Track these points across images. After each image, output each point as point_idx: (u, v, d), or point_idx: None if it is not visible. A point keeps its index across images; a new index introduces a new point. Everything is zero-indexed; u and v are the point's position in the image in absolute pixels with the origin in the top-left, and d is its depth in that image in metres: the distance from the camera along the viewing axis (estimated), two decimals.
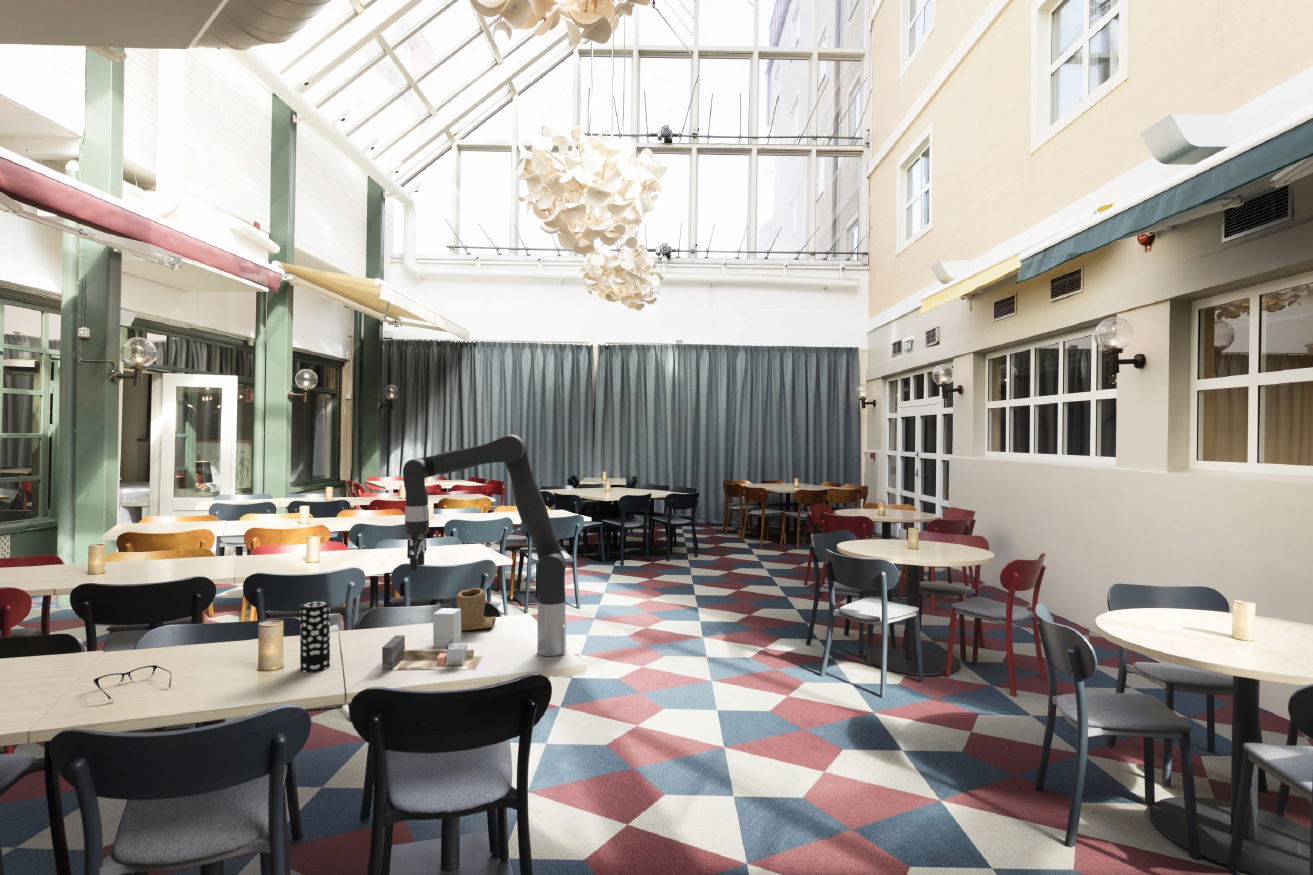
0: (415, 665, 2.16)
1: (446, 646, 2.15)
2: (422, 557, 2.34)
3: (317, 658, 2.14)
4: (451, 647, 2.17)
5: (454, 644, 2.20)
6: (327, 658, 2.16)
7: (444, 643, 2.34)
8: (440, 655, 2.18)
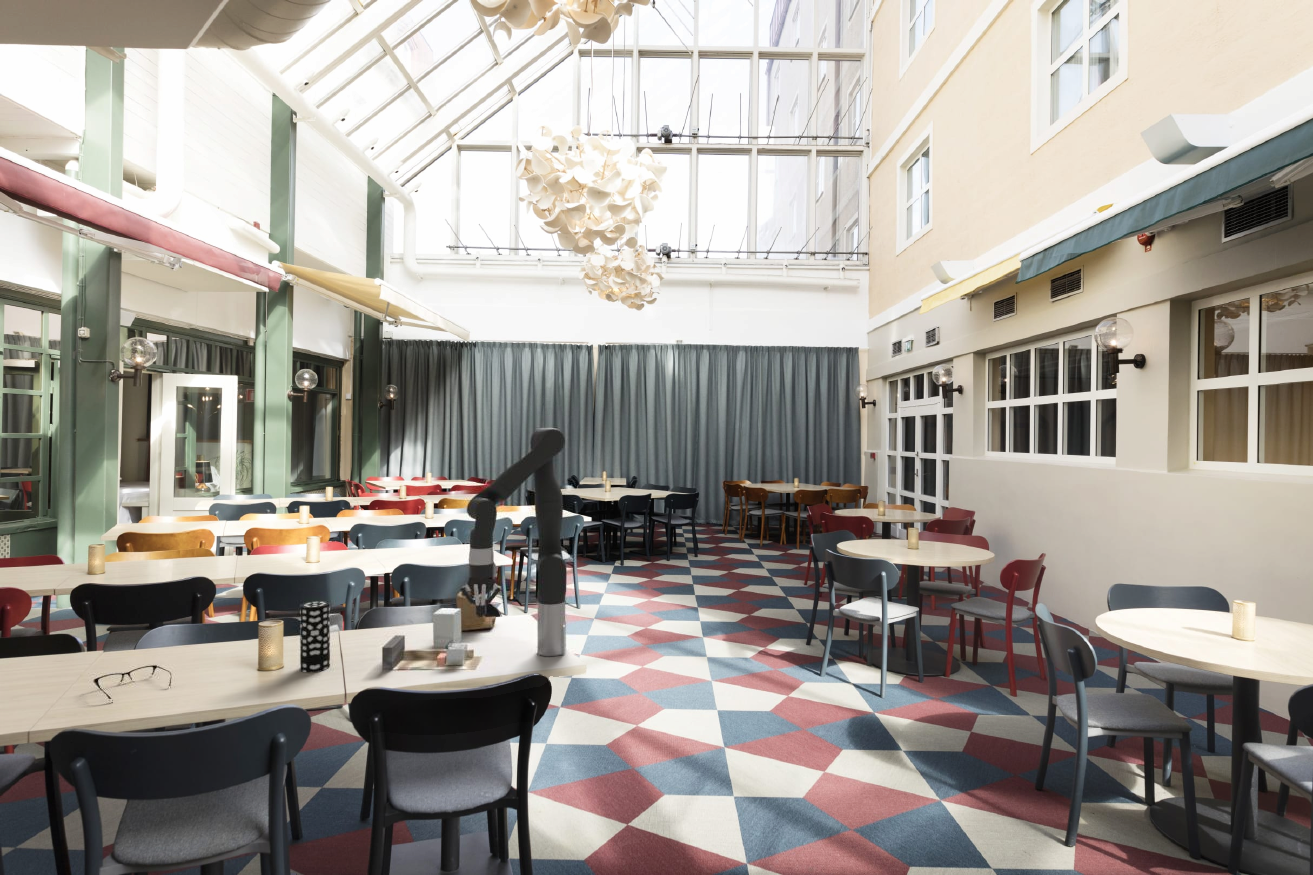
0: (415, 665, 2.16)
1: (446, 646, 2.15)
2: None
3: (317, 658, 2.14)
4: (451, 647, 2.17)
5: (454, 644, 2.20)
6: (327, 658, 2.16)
7: (444, 643, 2.34)
8: (440, 655, 2.18)
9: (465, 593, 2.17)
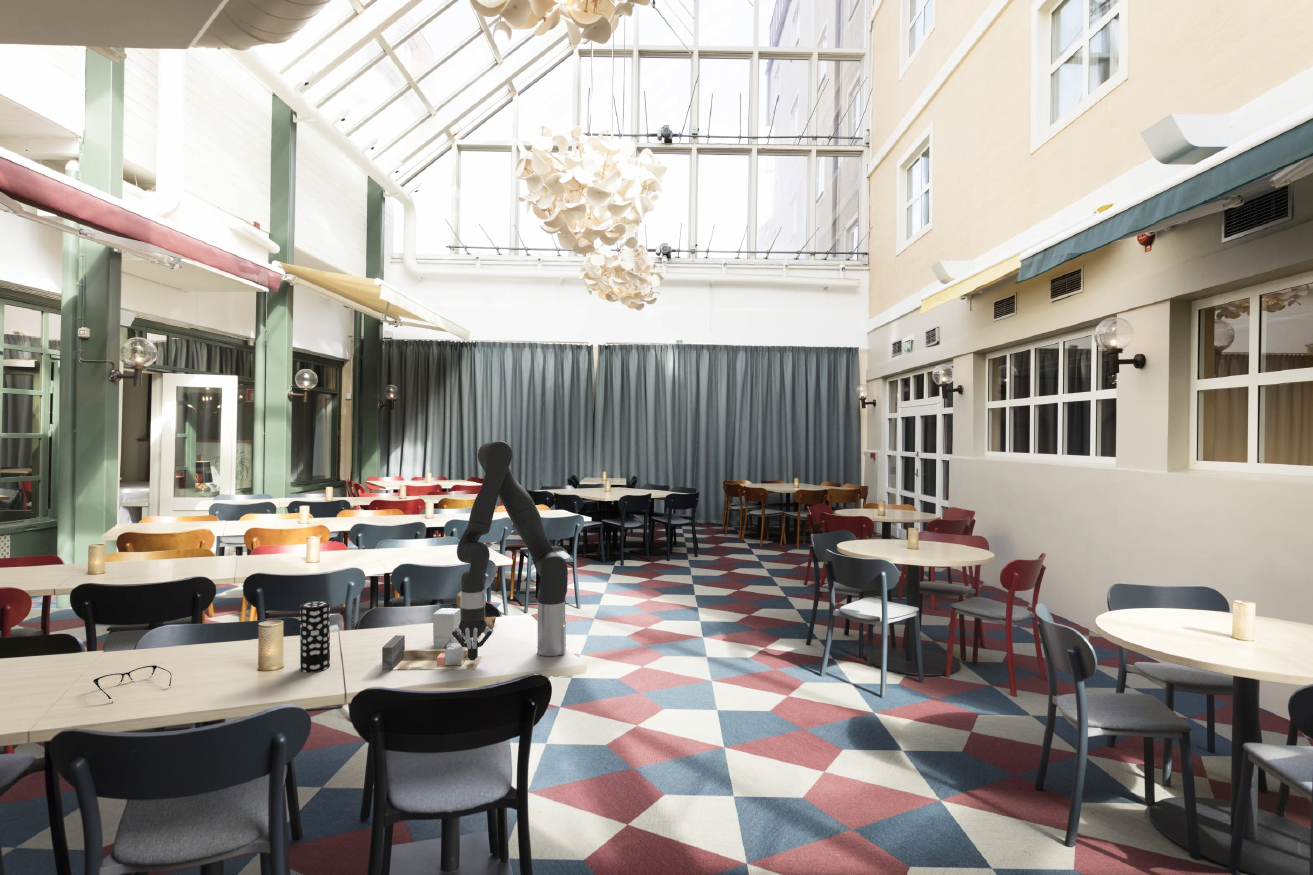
0: (415, 665, 2.16)
1: (445, 646, 2.15)
2: None
3: (317, 658, 2.14)
4: (450, 647, 2.17)
5: (453, 644, 2.20)
6: (327, 658, 2.16)
7: (444, 643, 2.34)
8: (440, 655, 2.18)
9: (457, 637, 2.16)
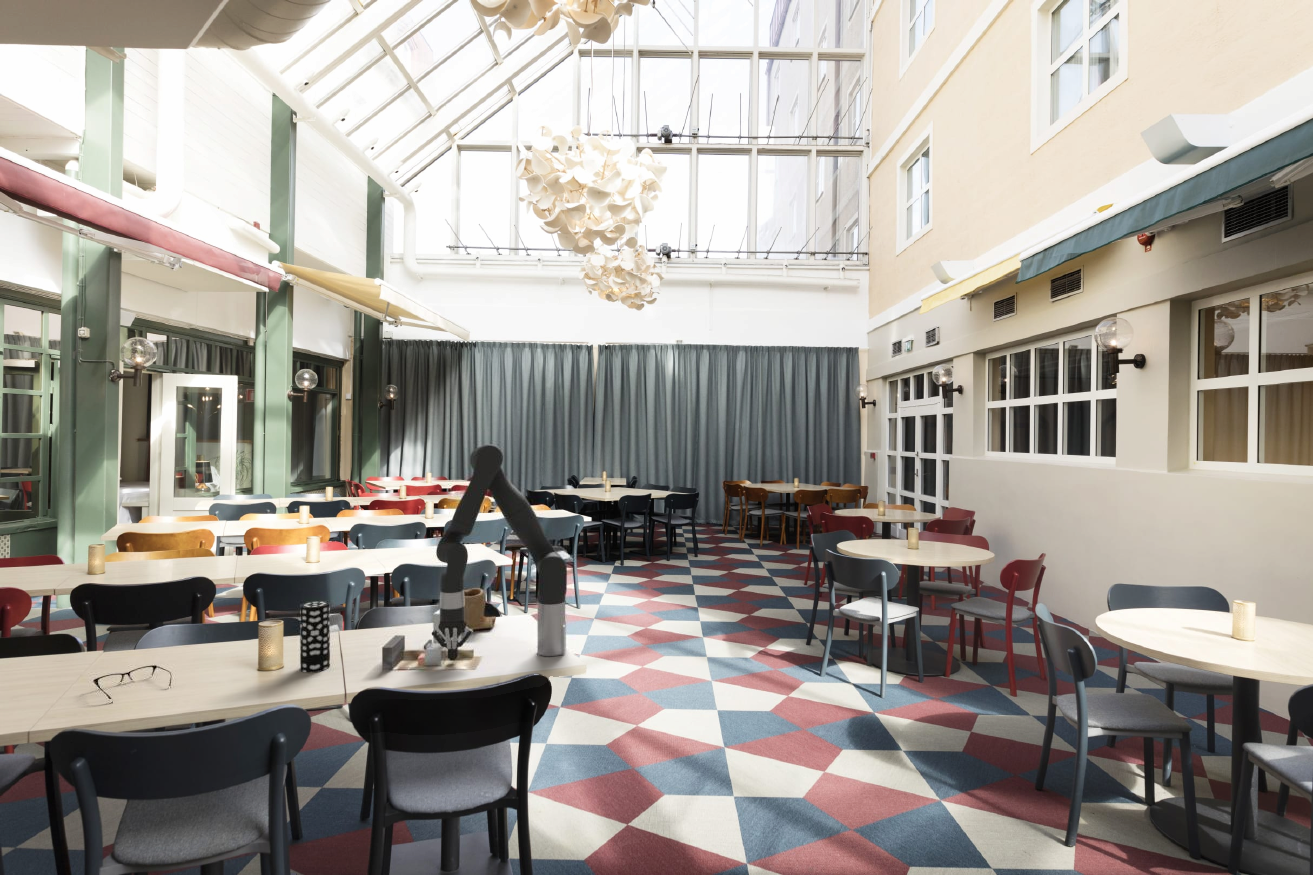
0: (415, 665, 2.16)
1: (424, 646, 2.15)
2: None
3: (317, 658, 2.14)
4: (430, 647, 2.16)
5: (433, 644, 2.19)
6: (327, 658, 2.16)
7: None
8: (421, 655, 2.18)
9: (436, 637, 2.16)
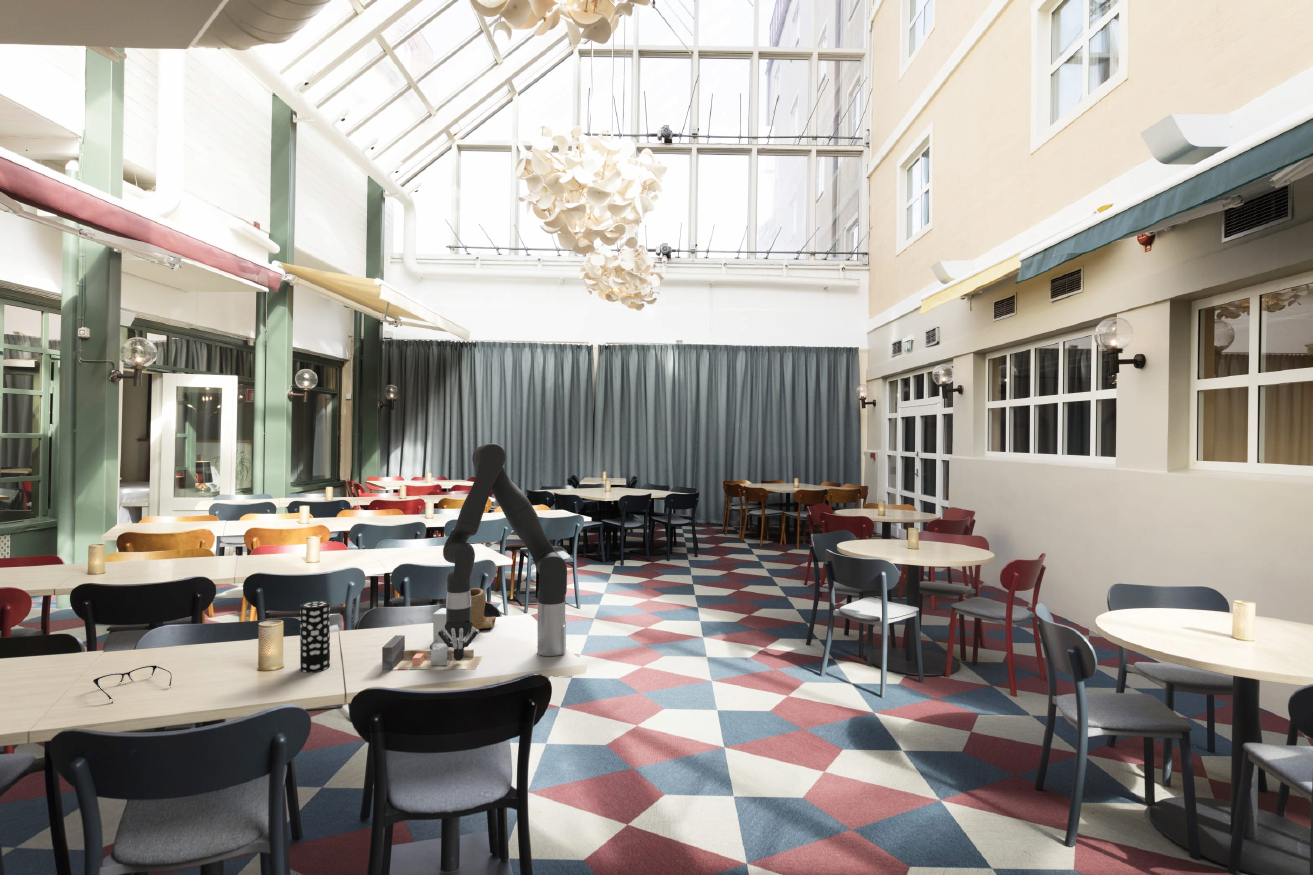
0: None
1: (430, 646, 2.15)
2: None
3: (317, 658, 2.14)
4: (435, 647, 2.16)
5: (439, 644, 2.19)
6: (327, 658, 2.16)
7: None
8: (416, 655, 2.17)
9: (442, 637, 2.16)
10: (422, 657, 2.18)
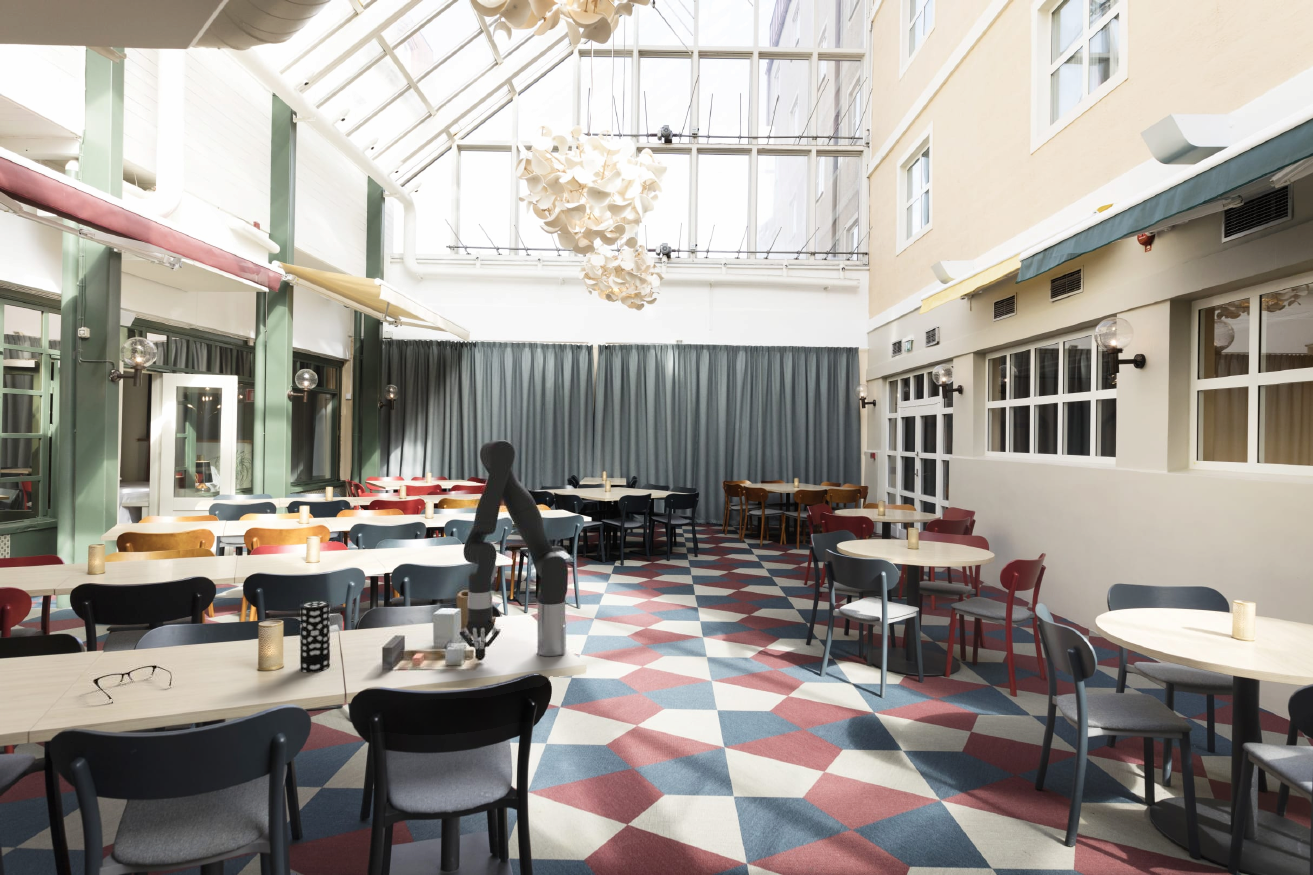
0: None
1: (445, 646, 2.15)
2: None
3: (317, 658, 2.14)
4: (450, 647, 2.17)
5: (453, 644, 2.20)
6: (327, 658, 2.16)
7: (444, 643, 2.34)
8: (416, 655, 2.17)
9: (464, 637, 2.17)
10: (422, 657, 2.18)
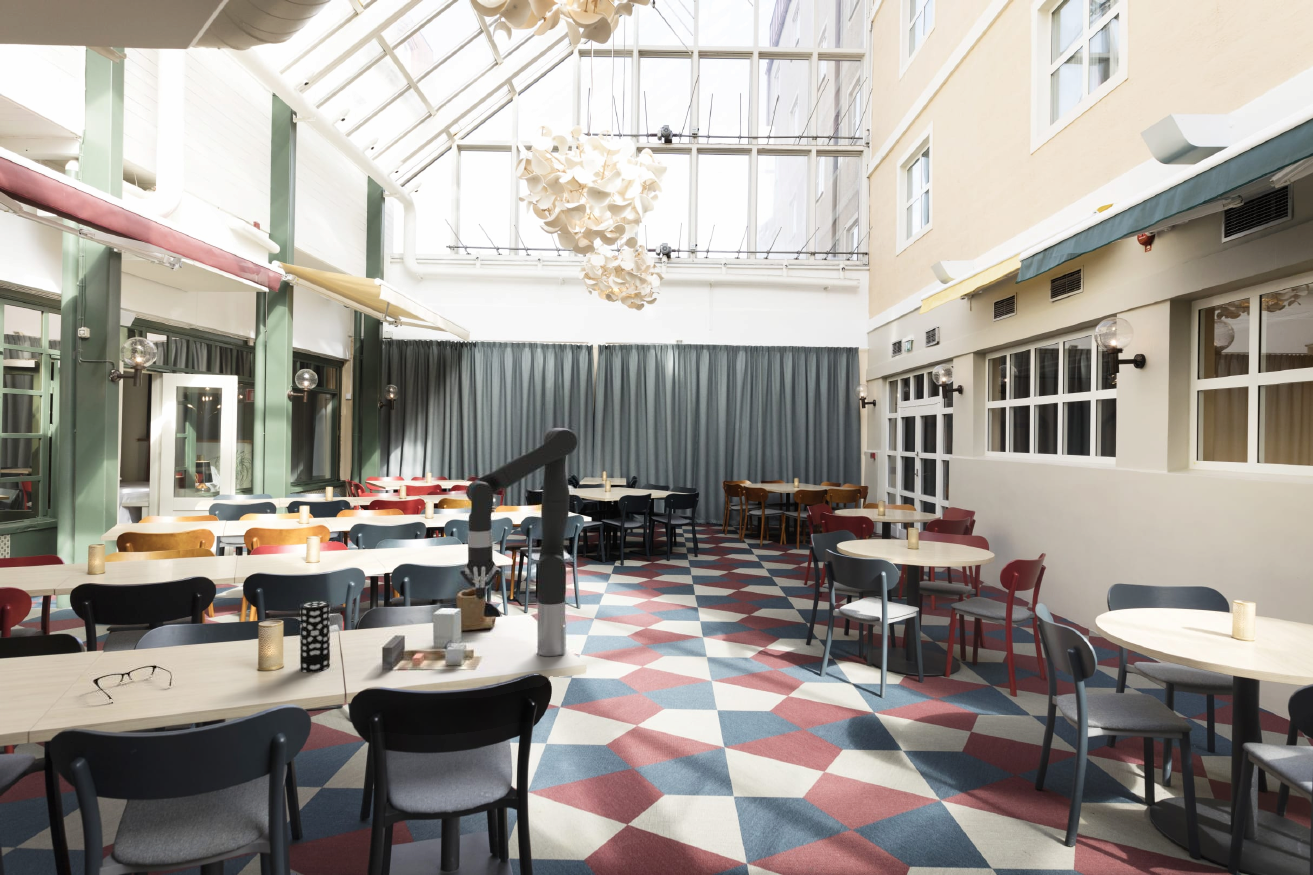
0: None
1: (445, 646, 2.15)
2: None
3: (317, 658, 2.14)
4: (450, 647, 2.17)
5: (453, 644, 2.20)
6: (327, 658, 2.16)
7: (444, 643, 2.34)
8: (416, 655, 2.17)
9: (465, 576, 2.19)
10: (422, 657, 2.18)
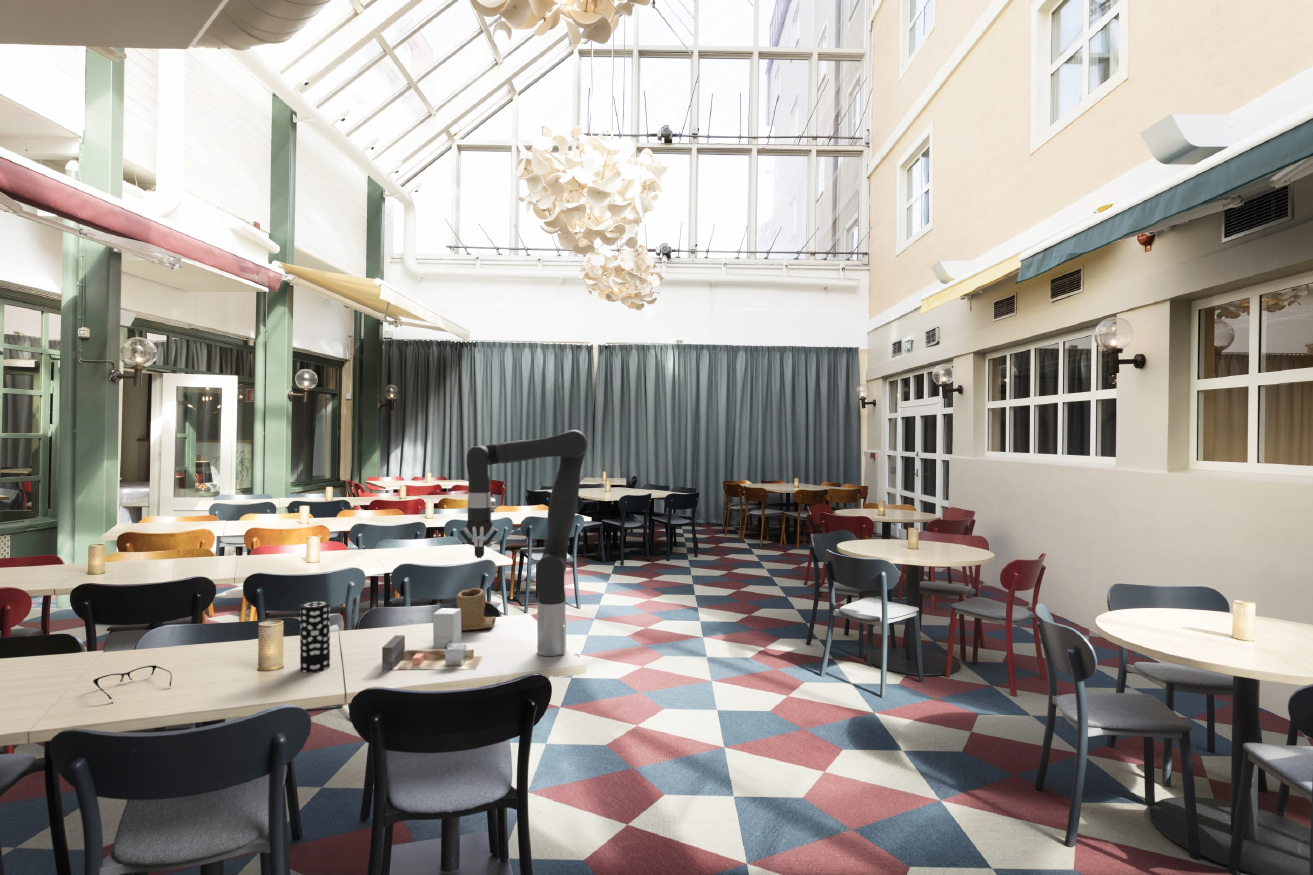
0: None
1: (445, 646, 2.15)
2: None
3: (317, 658, 2.14)
4: (450, 647, 2.17)
5: (453, 644, 2.20)
6: (327, 658, 2.16)
7: (444, 643, 2.34)
8: (416, 655, 2.17)
9: (464, 535, 2.30)
10: (422, 657, 2.18)
